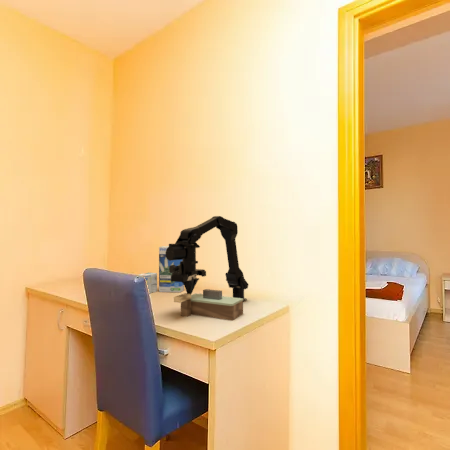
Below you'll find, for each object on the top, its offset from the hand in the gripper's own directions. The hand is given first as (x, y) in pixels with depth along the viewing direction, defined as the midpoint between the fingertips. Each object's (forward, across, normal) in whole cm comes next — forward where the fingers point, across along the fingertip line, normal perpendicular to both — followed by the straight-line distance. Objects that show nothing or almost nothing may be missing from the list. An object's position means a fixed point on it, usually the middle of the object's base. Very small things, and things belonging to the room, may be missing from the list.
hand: (189, 295), depth 134 cm
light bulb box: (+8, -26, -46) cm, 54 cm away
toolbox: (+8, -3, +9) cm, 12 cm away
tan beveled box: (+1, +5, 0) cm, 5 cm away
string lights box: (+8, -36, -36) cm, 52 cm away
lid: (+2, -5, +9) cm, 10 cm away
